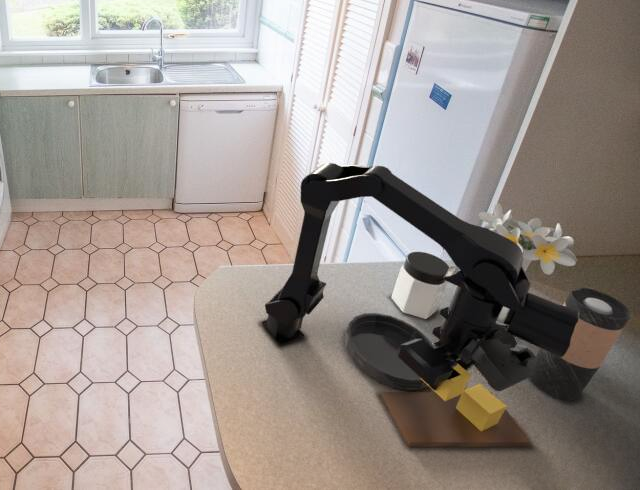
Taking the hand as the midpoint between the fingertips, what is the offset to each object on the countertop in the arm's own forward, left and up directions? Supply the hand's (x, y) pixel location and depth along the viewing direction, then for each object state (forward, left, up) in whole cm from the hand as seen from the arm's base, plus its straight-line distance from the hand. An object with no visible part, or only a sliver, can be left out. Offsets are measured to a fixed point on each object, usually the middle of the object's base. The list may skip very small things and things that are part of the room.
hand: (441, 383), depth 75 cm
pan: (+5, +12, -9) cm, 16 cm away
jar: (+22, +21, -9) cm, 31 cm away
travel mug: (+29, -3, -9) cm, 30 cm away
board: (+4, -2, -9) cm, 10 cm away
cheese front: (+7, -3, -8) cm, 11 cm away
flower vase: (+36, +13, -9) cm, 39 cm away
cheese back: (0, 0, 0) cm, 0 cm away
